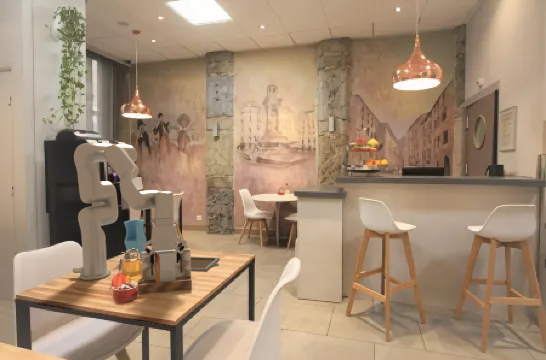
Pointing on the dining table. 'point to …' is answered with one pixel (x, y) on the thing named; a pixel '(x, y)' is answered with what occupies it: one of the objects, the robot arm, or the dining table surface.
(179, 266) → the display ledge
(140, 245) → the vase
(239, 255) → the dining table surface
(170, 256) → the small box
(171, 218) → the robot arm
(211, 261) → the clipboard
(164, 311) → the dining table surface
